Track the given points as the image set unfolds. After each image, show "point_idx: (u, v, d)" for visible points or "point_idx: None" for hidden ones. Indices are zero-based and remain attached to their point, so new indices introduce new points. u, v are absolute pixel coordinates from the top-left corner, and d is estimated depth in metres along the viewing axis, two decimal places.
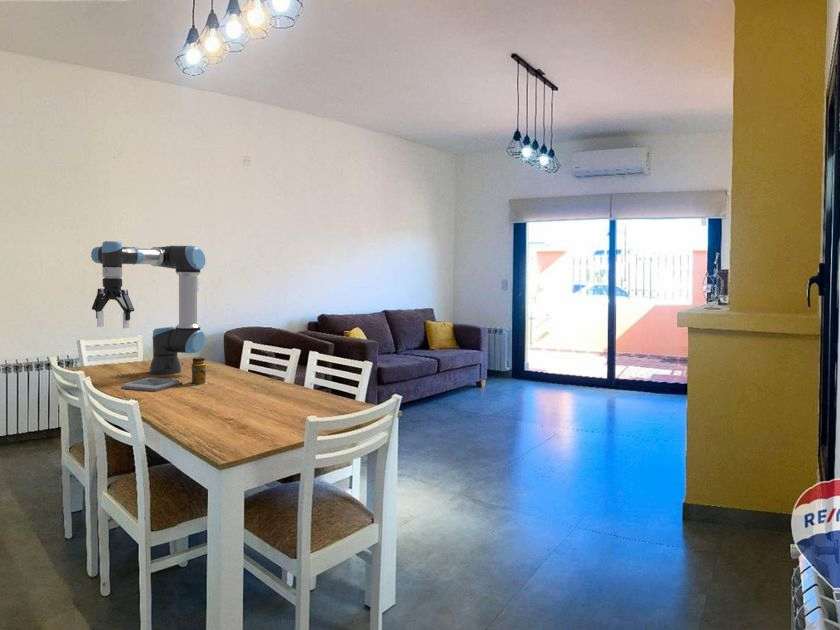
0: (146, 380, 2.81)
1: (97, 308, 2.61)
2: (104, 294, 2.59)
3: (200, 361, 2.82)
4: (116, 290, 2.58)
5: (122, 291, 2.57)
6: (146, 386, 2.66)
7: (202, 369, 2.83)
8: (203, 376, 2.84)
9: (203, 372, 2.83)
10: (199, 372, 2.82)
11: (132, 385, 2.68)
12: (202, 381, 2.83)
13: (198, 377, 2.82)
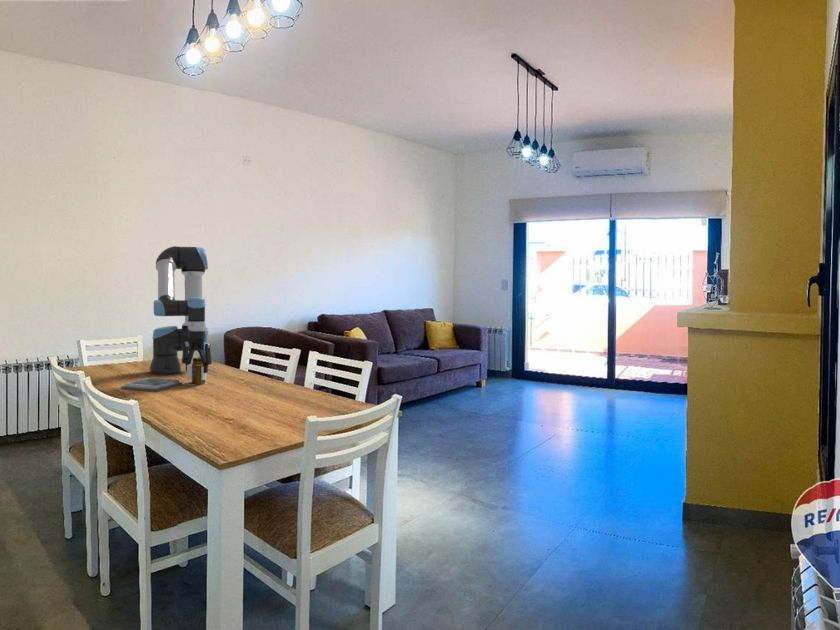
0: (146, 380, 2.81)
1: (186, 361, 2.84)
2: (189, 346, 2.82)
3: (200, 361, 2.82)
4: (201, 342, 2.81)
5: (206, 345, 2.80)
6: (146, 386, 2.66)
7: None
8: None
9: None
10: (199, 372, 2.82)
11: (132, 385, 2.68)
12: (202, 381, 2.83)
13: (198, 377, 2.82)
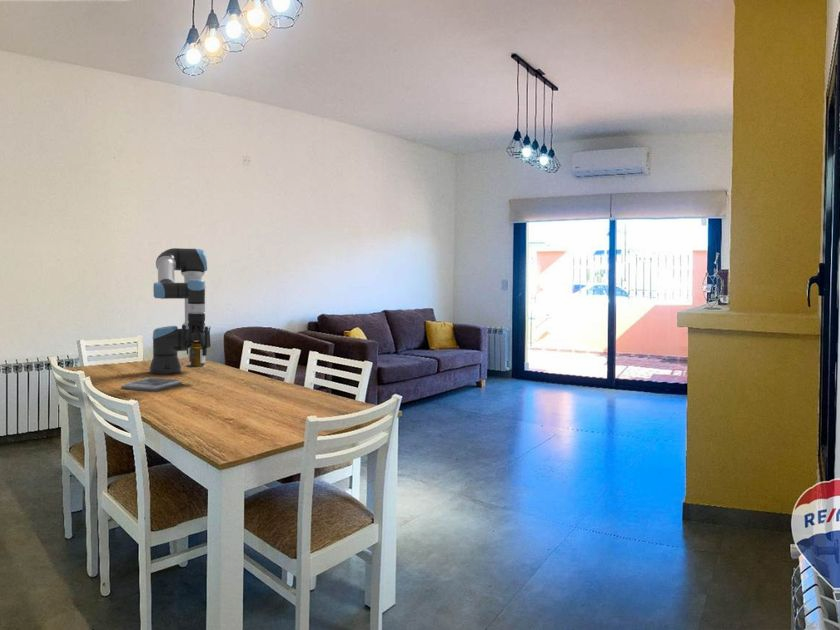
0: (146, 380, 2.81)
1: (187, 344, 2.83)
2: (190, 329, 2.82)
3: (199, 343, 2.82)
4: (201, 324, 2.81)
5: (206, 328, 2.80)
6: (146, 386, 2.66)
7: None
8: None
9: None
10: (197, 354, 2.82)
11: (132, 385, 2.68)
12: (201, 364, 2.83)
13: (197, 359, 2.82)
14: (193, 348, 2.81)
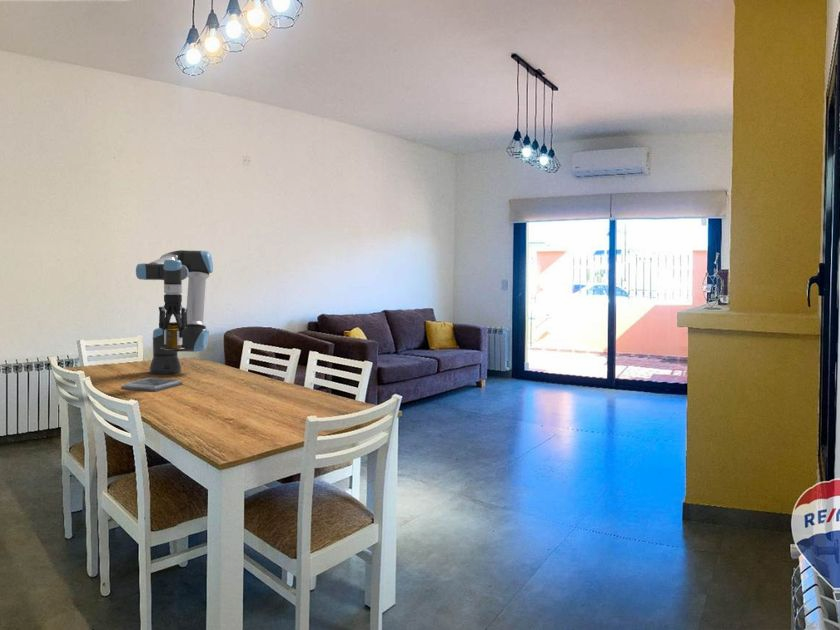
0: (146, 380, 2.81)
1: (164, 326, 2.77)
2: (166, 310, 2.76)
3: (176, 325, 2.76)
4: (177, 306, 2.75)
5: (182, 309, 2.74)
6: (146, 386, 2.66)
7: None
8: None
9: None
10: (174, 336, 2.76)
11: (132, 385, 2.68)
12: (178, 346, 2.77)
13: (173, 341, 2.76)
14: (169, 330, 2.75)
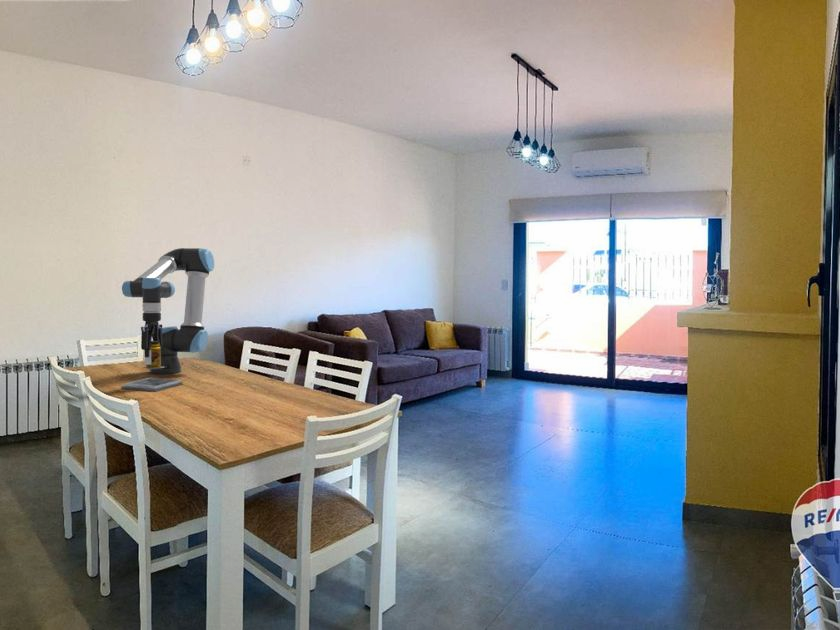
0: (146, 380, 2.81)
1: None
2: None
3: None
4: None
5: None
6: (146, 386, 2.66)
7: None
8: None
9: None
10: None
11: (132, 385, 2.68)
12: (148, 365, 2.71)
13: None
14: None
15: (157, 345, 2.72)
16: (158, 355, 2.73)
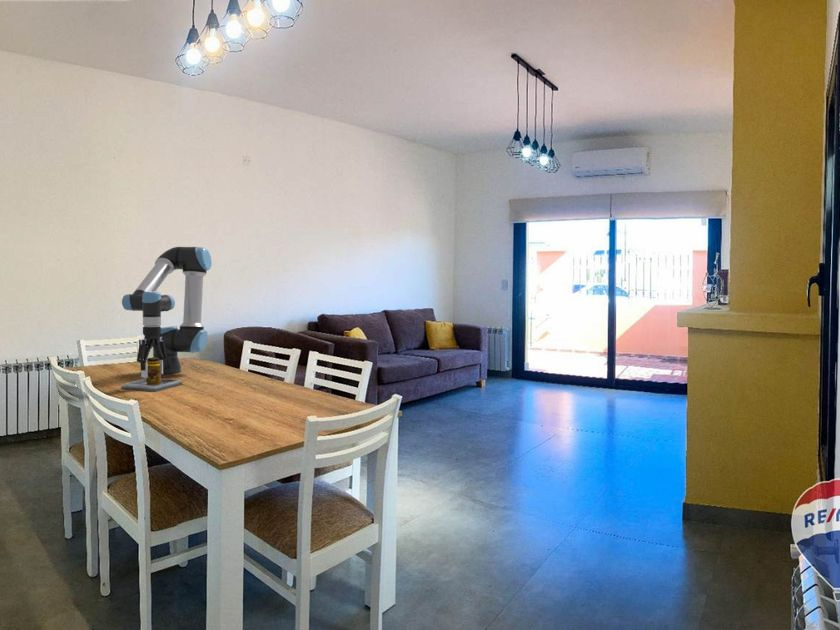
0: None
1: None
2: None
3: (147, 361, 2.72)
4: None
5: None
6: (146, 386, 2.66)
7: None
8: (148, 377, 2.72)
9: (148, 373, 2.72)
10: None
11: (132, 385, 2.68)
12: (147, 382, 2.72)
13: None
14: None
15: (156, 362, 2.73)
16: (157, 372, 2.73)
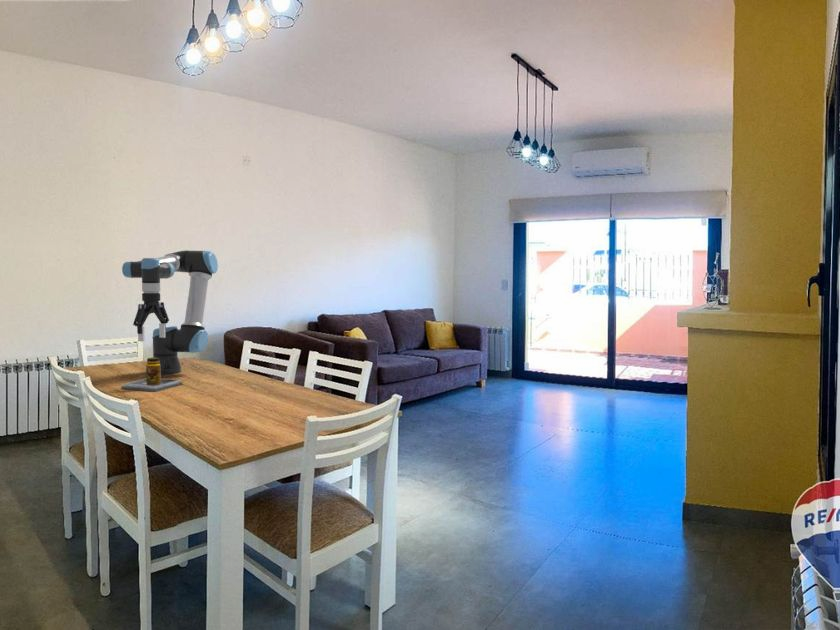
0: None
1: None
2: None
3: (147, 361, 2.72)
4: None
5: None
6: (146, 386, 2.66)
7: (147, 370, 2.72)
8: (148, 377, 2.72)
9: (148, 373, 2.72)
10: (146, 372, 2.73)
11: (132, 385, 2.68)
12: (147, 382, 2.72)
13: (146, 376, 2.74)
14: None
15: (156, 362, 2.73)
16: (157, 372, 2.73)
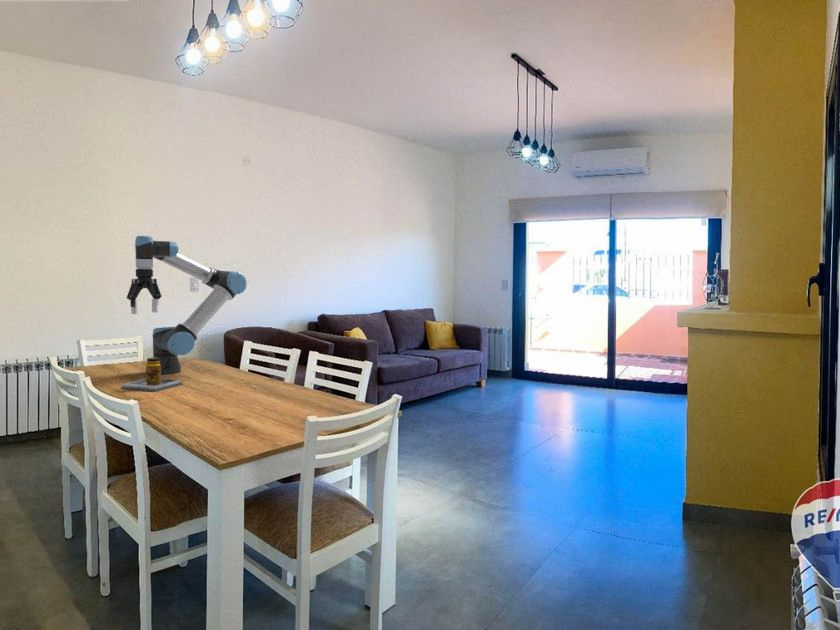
0: None
1: None
2: None
3: (147, 361, 2.72)
4: None
5: None
6: (146, 386, 2.66)
7: (147, 370, 2.72)
8: (148, 377, 2.72)
9: (148, 373, 2.72)
10: (146, 372, 2.73)
11: (132, 385, 2.68)
12: (147, 382, 2.72)
13: (146, 376, 2.74)
14: None
15: (156, 362, 2.73)
16: (157, 372, 2.73)
